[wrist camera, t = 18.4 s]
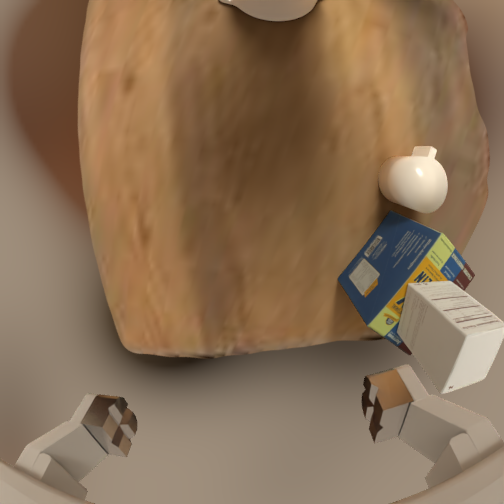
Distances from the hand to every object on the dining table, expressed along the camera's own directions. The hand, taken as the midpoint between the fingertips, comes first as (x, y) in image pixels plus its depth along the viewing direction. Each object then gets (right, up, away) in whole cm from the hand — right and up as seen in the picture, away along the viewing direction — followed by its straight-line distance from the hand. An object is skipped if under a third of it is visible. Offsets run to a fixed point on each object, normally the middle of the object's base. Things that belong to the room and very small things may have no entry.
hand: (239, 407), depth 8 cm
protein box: (+23, +4, +38) cm, 45 cm away
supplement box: (+23, -2, +23) cm, 33 cm away
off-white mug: (+25, +18, +33) cm, 45 cm away
